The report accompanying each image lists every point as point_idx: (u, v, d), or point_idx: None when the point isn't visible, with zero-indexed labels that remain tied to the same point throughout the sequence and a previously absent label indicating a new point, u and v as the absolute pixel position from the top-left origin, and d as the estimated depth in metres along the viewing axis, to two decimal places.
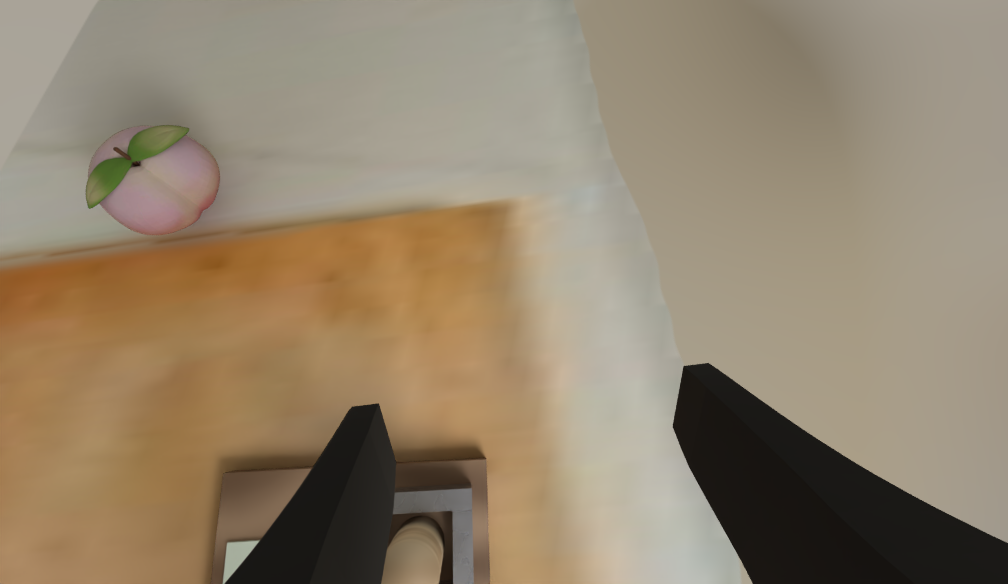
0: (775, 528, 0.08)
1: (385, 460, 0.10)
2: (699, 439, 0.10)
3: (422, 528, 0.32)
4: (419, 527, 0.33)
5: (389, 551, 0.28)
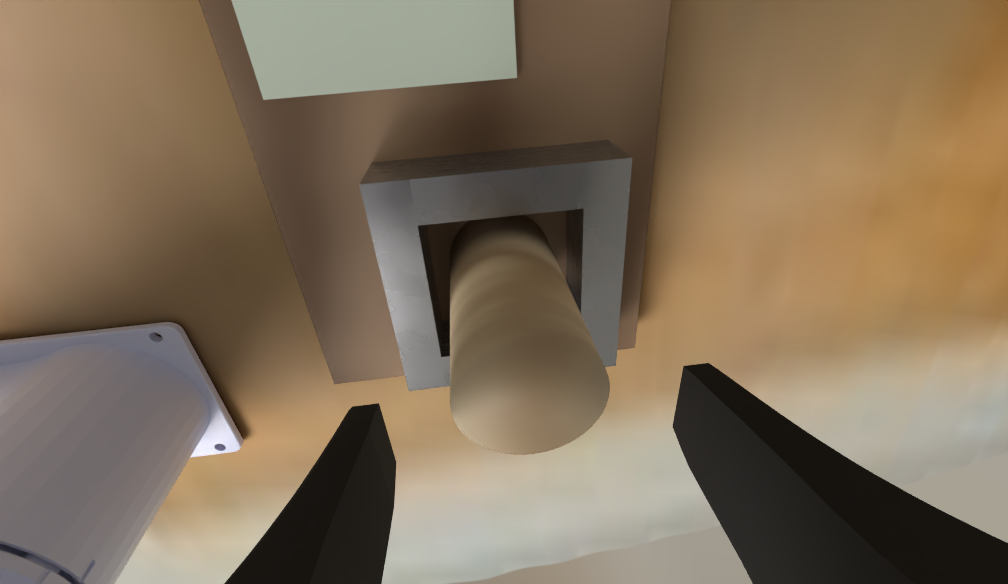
0: (775, 528, 0.08)
1: (385, 460, 0.10)
2: (699, 439, 0.10)
3: None
4: None
5: (594, 356, 0.11)
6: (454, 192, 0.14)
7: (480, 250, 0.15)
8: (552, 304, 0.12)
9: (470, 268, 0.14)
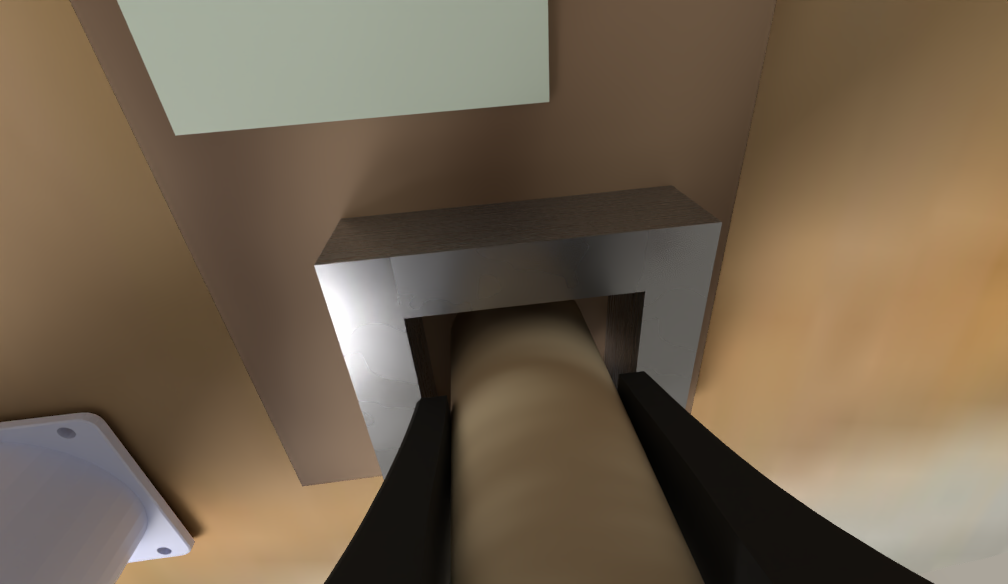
0: (690, 540, 0.08)
1: None
2: None
3: None
4: None
5: None
6: (458, 274, 0.09)
7: (494, 351, 0.10)
8: (620, 483, 0.07)
9: (481, 385, 0.09)
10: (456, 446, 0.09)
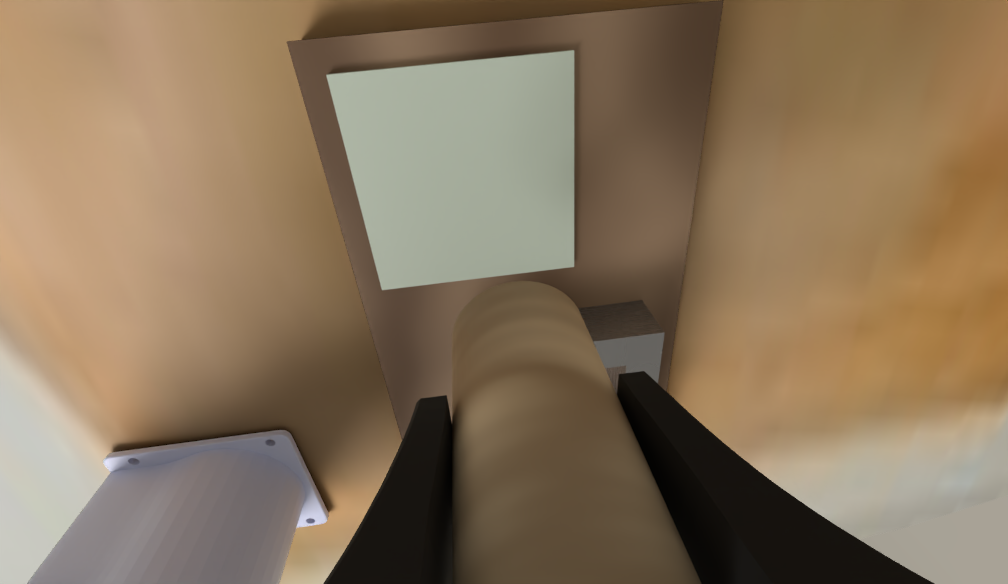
0: (690, 540, 0.08)
1: None
2: None
3: None
4: None
5: None
6: None
7: (492, 357, 0.10)
8: (615, 487, 0.07)
9: (479, 392, 0.09)
10: (456, 453, 0.09)
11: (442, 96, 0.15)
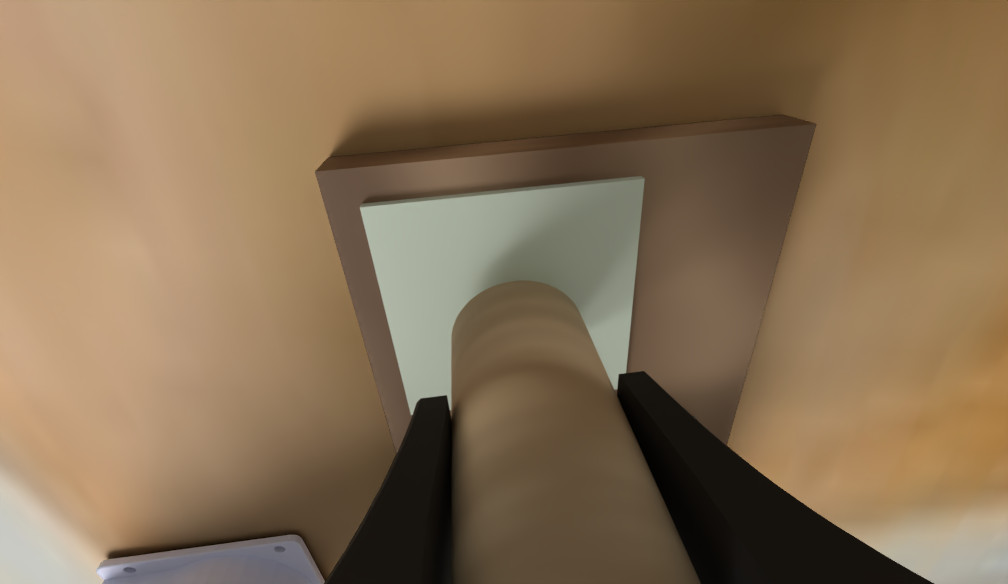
0: (690, 540, 0.08)
1: None
2: None
3: None
4: None
5: None
6: None
7: (491, 357, 0.10)
8: (614, 486, 0.07)
9: (478, 392, 0.09)
10: (455, 453, 0.09)
11: (491, 226, 0.13)
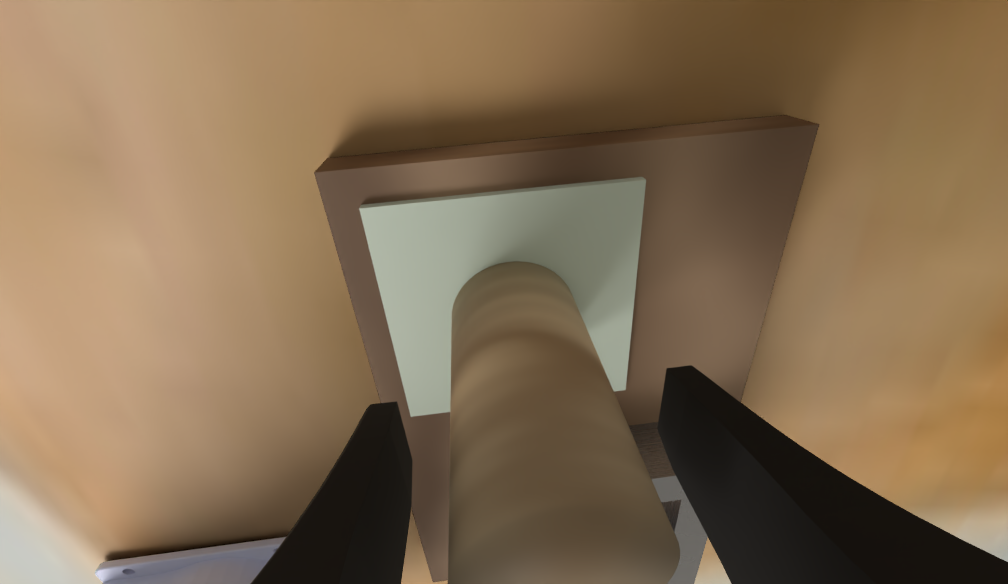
0: (753, 531, 0.08)
1: (403, 458, 0.10)
2: (681, 441, 0.10)
3: None
4: None
5: (659, 522, 0.07)
6: None
7: (486, 326, 0.11)
8: (591, 430, 0.08)
9: (474, 356, 0.10)
10: (453, 410, 0.10)
11: (492, 227, 0.13)
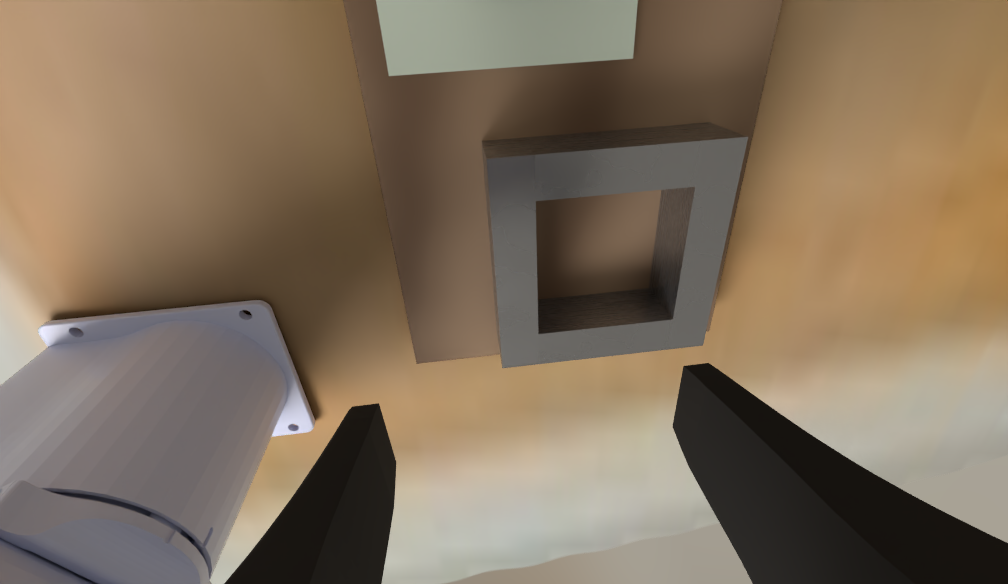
0: (775, 528, 0.08)
1: (385, 460, 0.10)
2: (699, 439, 0.10)
3: None
4: None
5: None
6: (575, 169, 0.14)
7: None
8: None
9: None
10: None
11: None
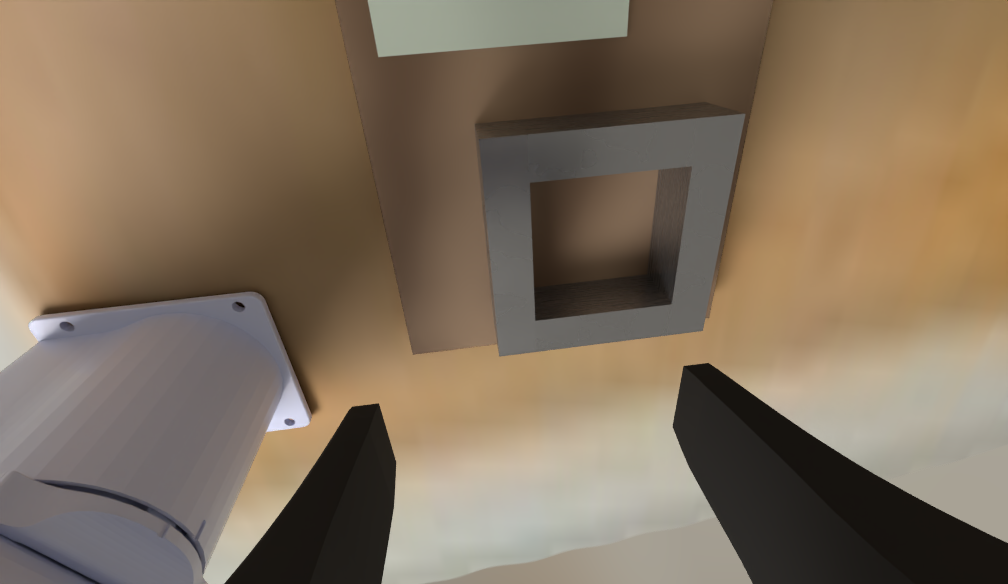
0: (775, 528, 0.08)
1: (385, 460, 0.10)
2: (699, 439, 0.10)
3: None
4: None
5: None
6: (570, 149, 0.14)
7: None
8: None
9: None
10: None
11: None
